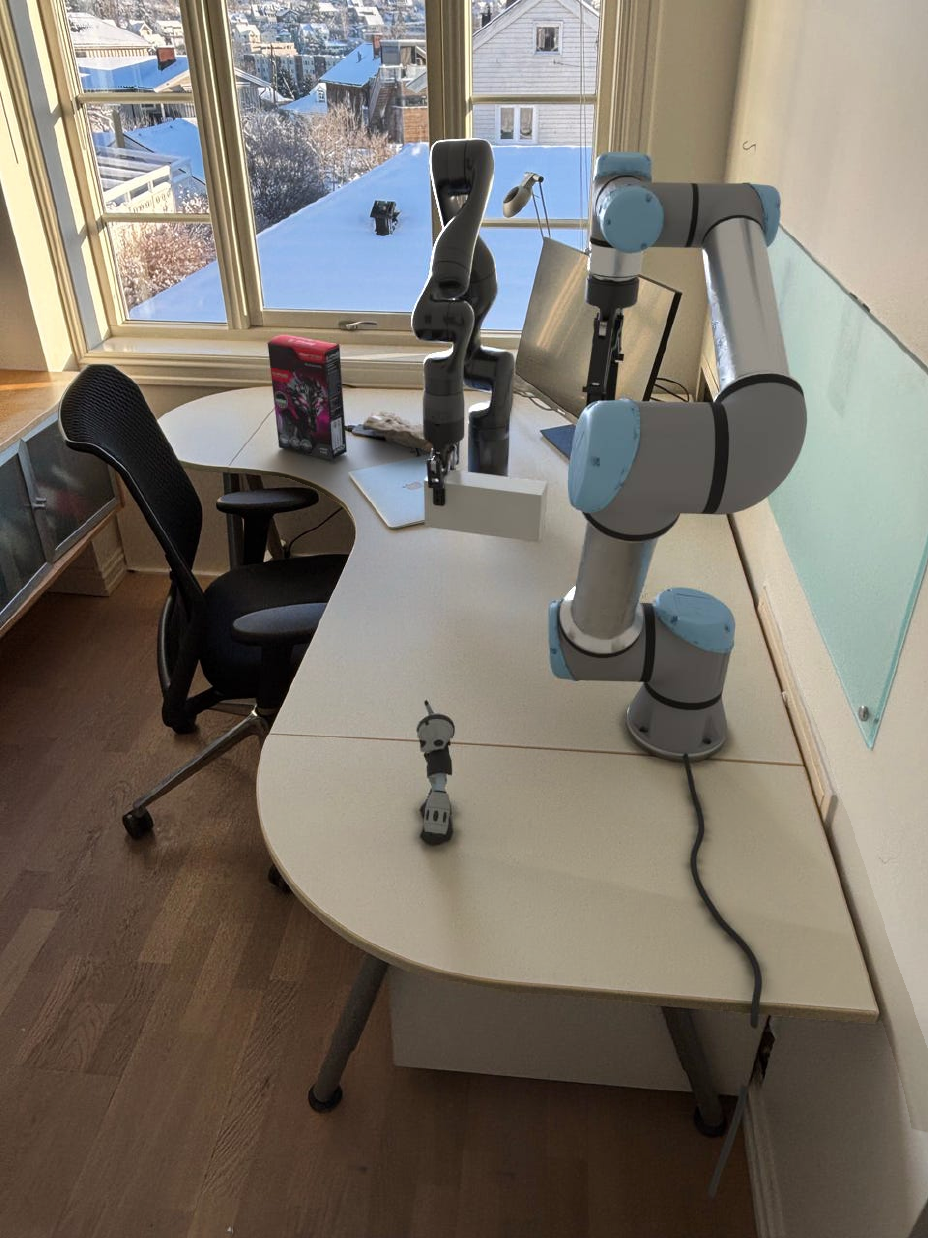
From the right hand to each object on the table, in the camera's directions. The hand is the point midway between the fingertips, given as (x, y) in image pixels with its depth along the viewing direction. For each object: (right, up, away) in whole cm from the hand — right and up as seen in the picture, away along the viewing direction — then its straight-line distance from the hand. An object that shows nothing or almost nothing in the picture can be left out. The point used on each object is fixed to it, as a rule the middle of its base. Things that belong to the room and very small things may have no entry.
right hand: (599, 417), depth 142 cm
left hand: (-25, -8, +33) cm, 42 cm away
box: (-17, -13, +35) cm, 41 cm away
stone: (-37, +14, +94) cm, 102 cm away
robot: (-25, -59, -16) cm, 66 cm away
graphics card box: (-59, +11, +88) cm, 107 cm away
